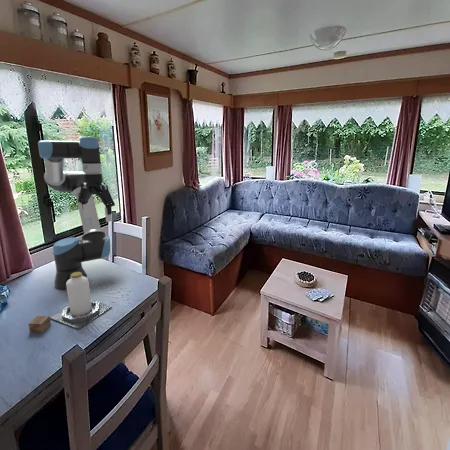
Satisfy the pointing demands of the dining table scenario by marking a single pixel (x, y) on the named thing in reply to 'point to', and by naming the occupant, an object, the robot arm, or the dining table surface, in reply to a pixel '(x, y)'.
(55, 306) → the dining table surface
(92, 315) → the ring seat
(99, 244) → the robot arm
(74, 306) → the white plastic bottle
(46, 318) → the walnut block
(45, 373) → the dining table surface
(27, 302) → the dining table surface
